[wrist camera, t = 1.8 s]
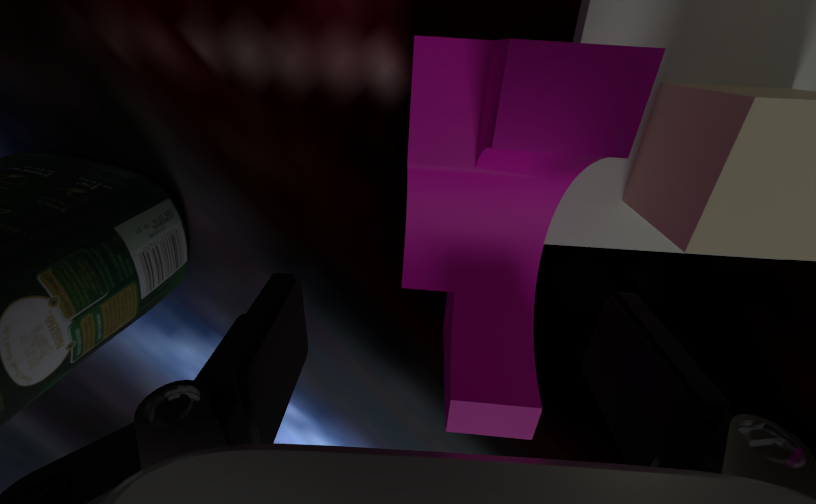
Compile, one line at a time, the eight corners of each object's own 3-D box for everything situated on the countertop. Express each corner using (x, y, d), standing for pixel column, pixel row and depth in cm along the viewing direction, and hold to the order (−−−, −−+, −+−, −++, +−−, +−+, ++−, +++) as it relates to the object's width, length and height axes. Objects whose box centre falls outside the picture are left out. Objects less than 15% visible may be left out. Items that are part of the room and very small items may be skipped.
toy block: (420, 38, 16) (408, 32, 9) (569, 47, 16) (666, 48, 9) (402, 317, 23) (389, 425, 16) (504, 326, 23) (531, 439, 16)
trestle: (1172, -452, 9) (2112, -1087, 4) (767, 249, 19) (893, 327, 14) (680, -447, 10) (959, -1013, 5) (530, 234, 20) (564, 303, 14)
